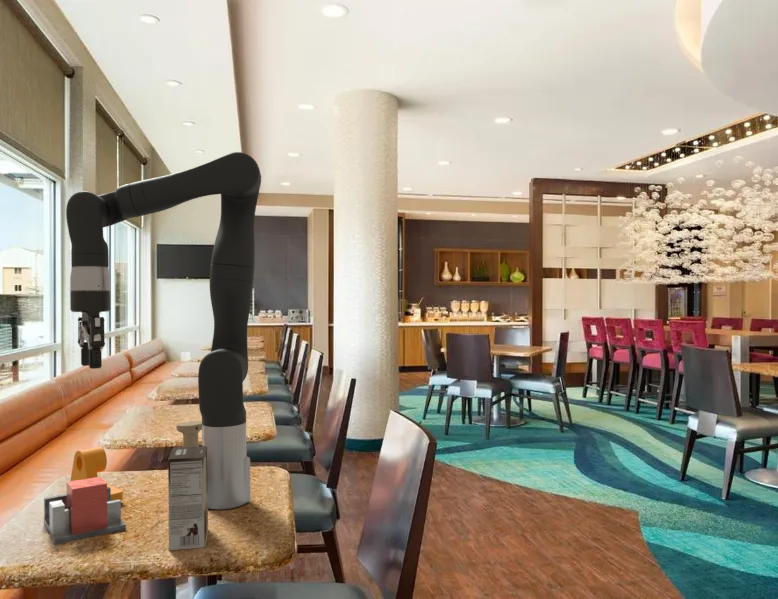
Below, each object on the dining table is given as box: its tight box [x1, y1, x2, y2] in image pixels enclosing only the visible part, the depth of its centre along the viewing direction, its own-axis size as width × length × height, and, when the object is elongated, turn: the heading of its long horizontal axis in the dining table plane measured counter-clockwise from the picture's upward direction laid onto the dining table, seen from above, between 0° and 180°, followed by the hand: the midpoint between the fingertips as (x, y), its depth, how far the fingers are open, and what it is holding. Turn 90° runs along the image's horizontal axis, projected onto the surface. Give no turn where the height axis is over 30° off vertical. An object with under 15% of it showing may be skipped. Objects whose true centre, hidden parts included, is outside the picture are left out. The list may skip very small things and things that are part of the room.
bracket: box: [69, 446, 124, 502], centre depth 135 cm, size 11×7×12 cm, turn 49°
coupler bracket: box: [43, 487, 127, 546], centre depth 120 cm, size 12×14×6 cm
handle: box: [175, 420, 202, 447], centre depth 145 cm, size 5×6×15 cm
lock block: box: [65, 476, 108, 533], centre depth 118 cm, size 6×6×8 cm
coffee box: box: [167, 445, 209, 551], centre depth 113 cm, size 9×6×16 cm
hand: (91, 366), depth 129 cm, fingers open, 8 cm apart
